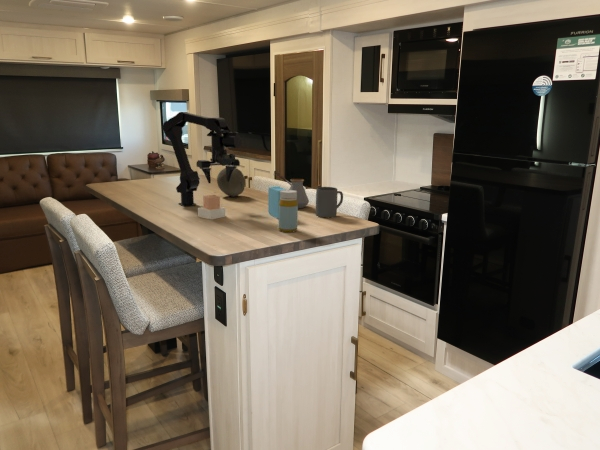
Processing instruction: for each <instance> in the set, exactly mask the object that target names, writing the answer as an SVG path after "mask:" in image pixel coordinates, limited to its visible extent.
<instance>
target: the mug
mask: <svg viewBox="0 0 600 450" xmlns="http://www.w3.org/2000/svg"><path fill="white" fill-rule="evenodd" d="M315 192H316V193H315V216H316V217H317V216H318V217H317V218H321V217H326V218H325V219H329V218H328V217H334V218H336V217H337V211H338V209H339V208H340V207H341V205H342V203H343V201H344V193H343V191H341V190H338V188H337V187H334V186H333V187H332V186H319V187H316V191H315ZM338 194H339V195H340V200H339V202H338ZM335 216H336V217H335Z"/></svg>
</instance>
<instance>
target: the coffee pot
mask: <svg viewBox="0 0 600 450" xmlns="http://www.w3.org/2000/svg"><path fill="white" fill-rule="evenodd" d="M273 176H278V177H279V178H280V179H282V181H284V182H285V183H287V184H288V185H289V189H288V190H295V191H297V197H296V198H297V203H298V209H304V208H306V206H308V204H309V202H310V199H309V197H308V195H307V193H306V189H305V188H304V185H303V183H304V181H305V179H303V178H291V179H289V180H290V181H289V180H287V179H286V178H285V177H284V175H282V174H280V173H278V171H275V172H274V173H273Z"/></svg>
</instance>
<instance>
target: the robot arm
mask: <svg viewBox="0 0 600 450" xmlns="http://www.w3.org/2000/svg"><path fill="white" fill-rule="evenodd" d="M187 123H190V124H194V125H197V126H202V127H204V128H205V129H207V130H209V133H207V134H206V136H207V137H211V138H210V139H211V140H210V141H211V149H209V151H210V152H211V158H210V160H207V159H201V160H199V159H198V160H197V161H196V167H197V168H198V169H199V170H201V171H202V172H203V174H204V176H205V178H206V180H207V182H208V184H211V182H212V179H211V170H212V168H211V167H212V166H222V167H224V166H225V168H226V179H227V182H229V180H230V177H231V174H232V172H233V170H234V169H235V168H237V169H238V167H239V166H241V165H240V164H241V162H240V160H239V159H238V158H236V154H234V153H230V154H228V153H227V152H228V151H227V149H229V148H230V149H239V148H240V147H241V145H242V138H241V136H240V135H239V132H238V131H232V130H231V129H230V127H229V125H228V124H227V121H226V119H225V118H223V117H207V116H205V115H204V116H203V115H199V114H194V113H190V112H188V111H180V112H177V114H175V115H174V116H172V117H170V118H169V119H168V120H166V121H164V122H163V124H162V131H163V133H164V136H165V137H166V138H167V139H168V140H169V141H170V142H171V146H172V148H173V152H174V154H175V155H174V156H175V158H176V161H177V164H178V168H179V170H180V175H179V184H178V185H177V186H176V187H175V189H176V192H177V193H179V194H180V202H178V203H177V204H178V205H180V206H182V207H187V206H188V207H190V206H197V205H198V203H196V202H195V201H194V192H197V190H198V188H199V185H200V183H201V182H200V179H201V178H200V176H199V173H198V171H197V170H195V171H194V169H192V167H191V163H190V159H189V157H188V155H187V150H186V148H185V145H184V142H183V139H182V138H183V131H184V130H183V129H184V127H185V126H186V125H187ZM225 148H227V149H225Z"/></svg>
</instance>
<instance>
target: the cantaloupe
mask: <svg viewBox="0 0 600 450" xmlns="http://www.w3.org/2000/svg"><path fill="white" fill-rule="evenodd" d="M216 183H217V186H218V187H217V188H218V189H220V191H221V192H222V193H223V194H225V195H226V196H229V197H234V198H235V197H238V196H239V195H241V194H243V192H244V191H245V187H246V178H245V175H244V174H243V172H242V171H241V170H240V169H238V167H237V168H235V169H234V170H233V172H232V174H231V177H230V180H229V182H227V179H226V167H225V168H222V169H221V170H220V171H219V172H218V174H217V176H216Z"/></svg>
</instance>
